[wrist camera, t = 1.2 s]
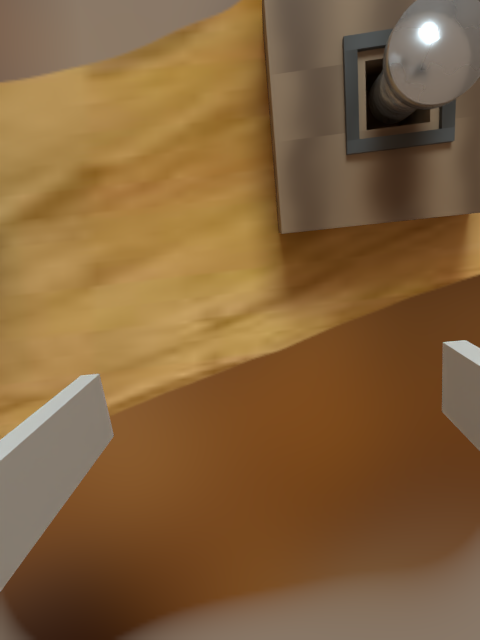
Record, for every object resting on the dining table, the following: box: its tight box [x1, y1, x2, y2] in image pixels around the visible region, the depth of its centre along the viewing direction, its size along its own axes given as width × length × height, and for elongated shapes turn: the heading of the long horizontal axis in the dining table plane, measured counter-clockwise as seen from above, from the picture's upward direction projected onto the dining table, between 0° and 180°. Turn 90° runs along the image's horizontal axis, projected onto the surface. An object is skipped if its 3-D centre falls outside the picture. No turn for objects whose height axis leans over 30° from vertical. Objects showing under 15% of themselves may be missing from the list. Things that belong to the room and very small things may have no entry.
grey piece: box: [368, 0, 480, 124], centre depth 26 cm, size 6×6×8 cm
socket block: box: [262, 0, 480, 234], centre depth 32 cm, size 20×20×8 cm
